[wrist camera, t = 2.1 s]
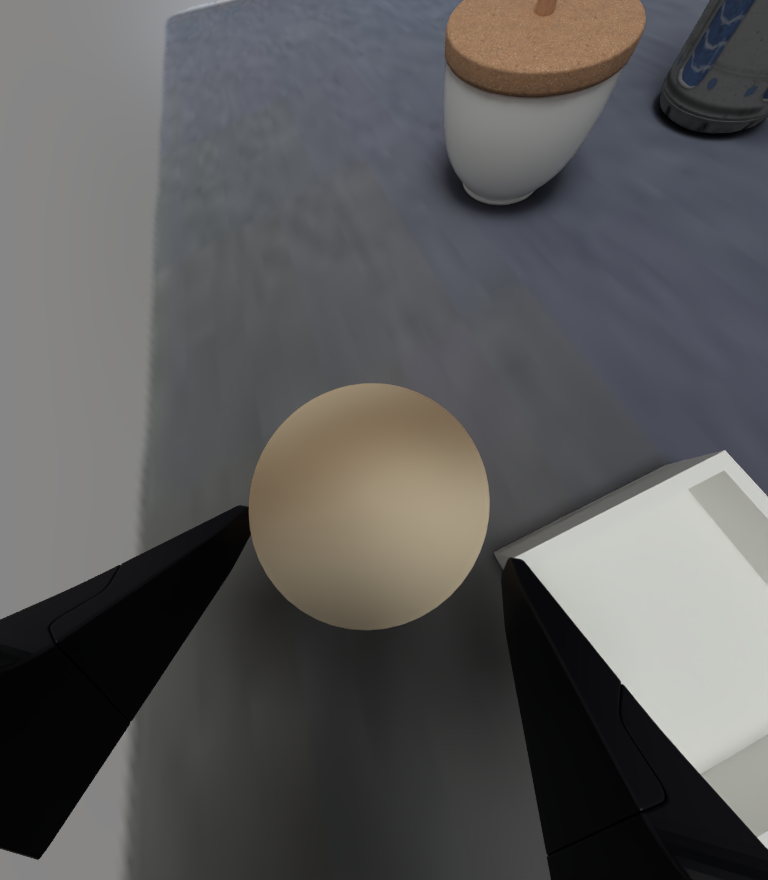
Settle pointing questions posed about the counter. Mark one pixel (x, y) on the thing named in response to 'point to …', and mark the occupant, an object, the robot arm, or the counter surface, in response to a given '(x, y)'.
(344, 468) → the canister
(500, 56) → the lidded bowl
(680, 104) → the beverage bottle
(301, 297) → the counter surface
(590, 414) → the counter surface
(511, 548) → the tray
